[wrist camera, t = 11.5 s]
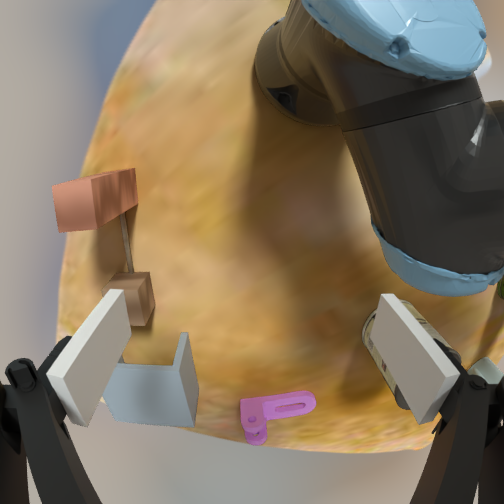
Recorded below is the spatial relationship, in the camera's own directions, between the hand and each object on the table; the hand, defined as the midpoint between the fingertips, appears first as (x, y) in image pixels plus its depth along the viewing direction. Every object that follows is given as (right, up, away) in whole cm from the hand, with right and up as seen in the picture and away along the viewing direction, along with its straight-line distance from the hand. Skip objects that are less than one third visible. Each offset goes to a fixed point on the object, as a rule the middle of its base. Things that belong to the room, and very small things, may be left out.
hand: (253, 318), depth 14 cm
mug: (+52, -24, +36) cm, 68 cm away
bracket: (+5, -24, +34) cm, 42 cm away
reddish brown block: (-16, +5, +22) cm, 28 cm away
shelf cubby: (-16, -14, +29) cm, 36 cm away
